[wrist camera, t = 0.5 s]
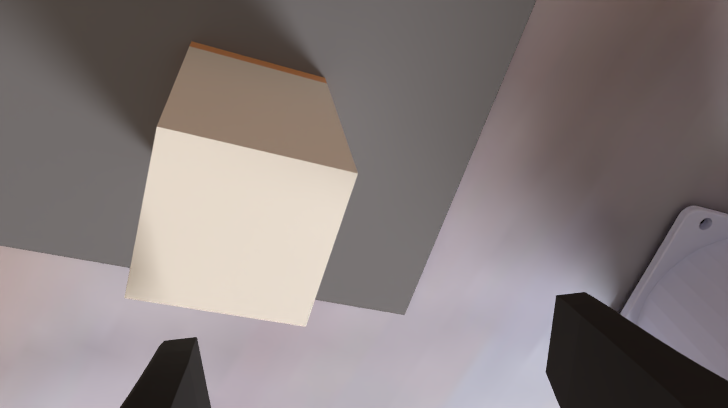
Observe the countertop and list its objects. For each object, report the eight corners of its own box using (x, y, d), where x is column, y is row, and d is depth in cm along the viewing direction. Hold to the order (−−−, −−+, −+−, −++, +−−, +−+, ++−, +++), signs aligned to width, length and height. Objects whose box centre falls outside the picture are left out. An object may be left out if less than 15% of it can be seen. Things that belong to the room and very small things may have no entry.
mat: (531, -2, 19) (536, 0, 19) (402, 308, 24) (404, 314, 23) (-151, -236, 14) (-161, -239, 14) (-140, 214, 19) (-148, 220, 19)
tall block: (325, 78, 19) (358, 173, 13) (290, 192, 20) (305, 327, 14) (191, 41, 18) (156, 126, 12) (166, 165, 19) (124, 297, 13)
